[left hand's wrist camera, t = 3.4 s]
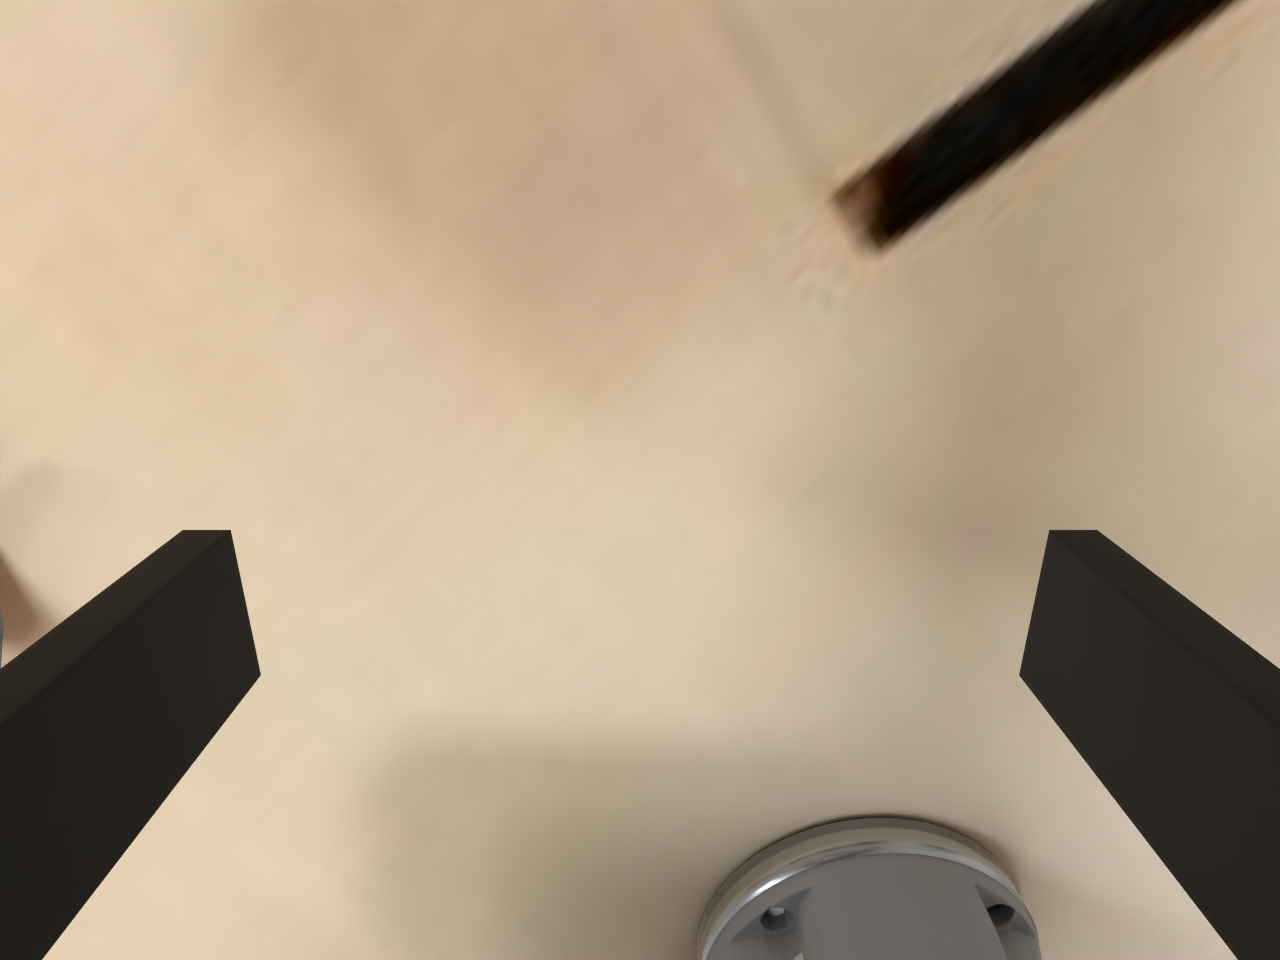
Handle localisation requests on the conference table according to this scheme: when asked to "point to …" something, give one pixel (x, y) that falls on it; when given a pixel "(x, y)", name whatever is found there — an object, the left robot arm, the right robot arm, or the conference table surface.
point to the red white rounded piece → (0, 636)
